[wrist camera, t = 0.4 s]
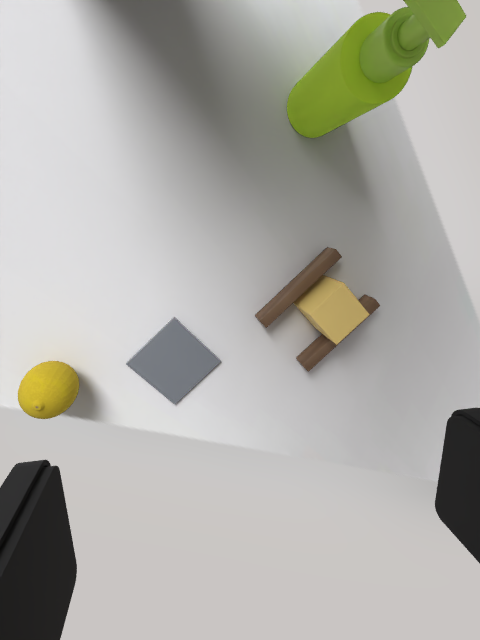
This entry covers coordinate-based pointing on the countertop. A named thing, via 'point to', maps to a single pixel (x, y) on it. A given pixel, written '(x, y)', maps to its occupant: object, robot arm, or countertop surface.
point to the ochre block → (331, 308)
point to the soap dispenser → (369, 64)
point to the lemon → (48, 389)
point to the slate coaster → (173, 361)
